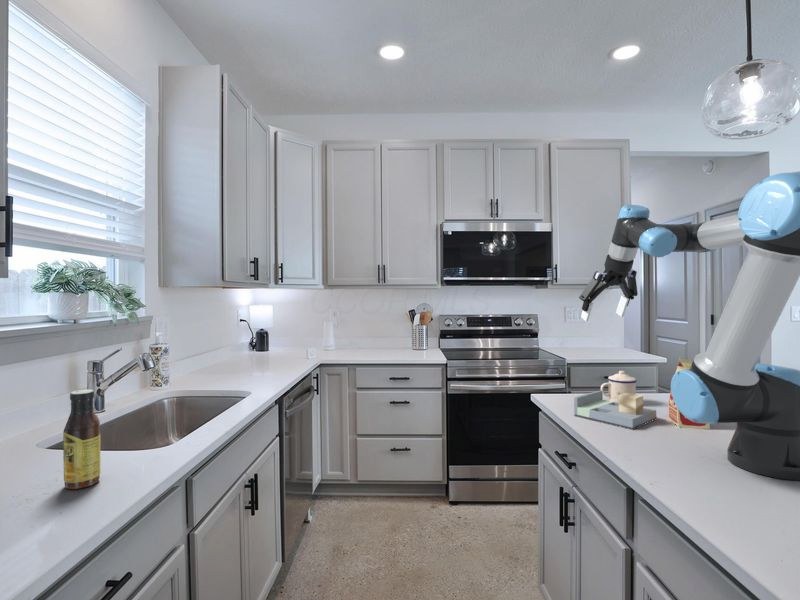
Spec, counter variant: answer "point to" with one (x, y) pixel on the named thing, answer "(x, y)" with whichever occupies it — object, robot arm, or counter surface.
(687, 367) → the milk carton
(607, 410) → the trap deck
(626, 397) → the maple block
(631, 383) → the teacup with lid
